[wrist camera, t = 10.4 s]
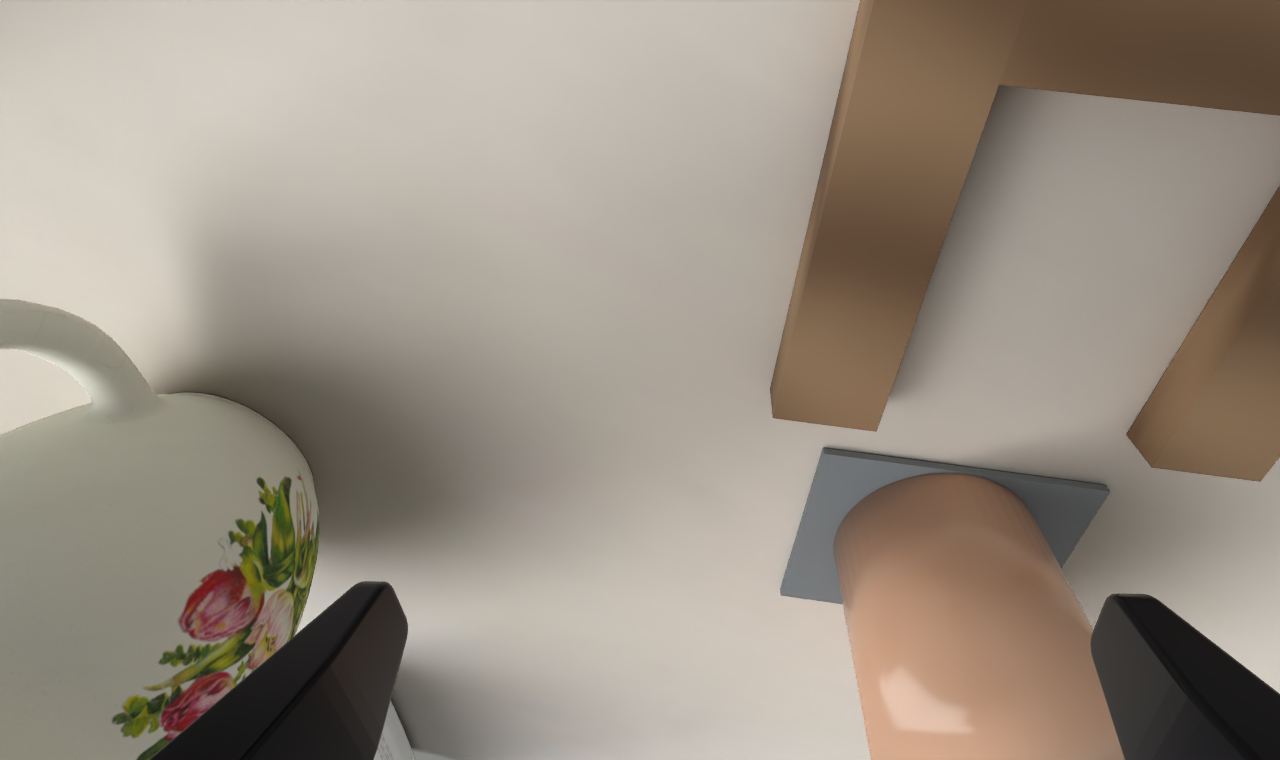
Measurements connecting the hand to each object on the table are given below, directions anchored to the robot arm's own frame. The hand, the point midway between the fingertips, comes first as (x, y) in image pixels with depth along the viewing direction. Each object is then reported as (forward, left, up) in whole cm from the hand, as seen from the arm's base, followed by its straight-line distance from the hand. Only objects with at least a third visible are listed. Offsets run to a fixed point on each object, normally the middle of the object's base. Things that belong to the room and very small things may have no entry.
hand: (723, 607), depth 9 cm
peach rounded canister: (+11, +9, -12) cm, 19 cm away
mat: (+10, +9, -12) cm, 18 cm away
